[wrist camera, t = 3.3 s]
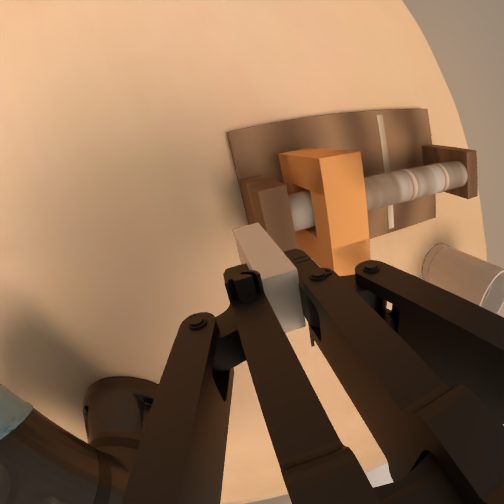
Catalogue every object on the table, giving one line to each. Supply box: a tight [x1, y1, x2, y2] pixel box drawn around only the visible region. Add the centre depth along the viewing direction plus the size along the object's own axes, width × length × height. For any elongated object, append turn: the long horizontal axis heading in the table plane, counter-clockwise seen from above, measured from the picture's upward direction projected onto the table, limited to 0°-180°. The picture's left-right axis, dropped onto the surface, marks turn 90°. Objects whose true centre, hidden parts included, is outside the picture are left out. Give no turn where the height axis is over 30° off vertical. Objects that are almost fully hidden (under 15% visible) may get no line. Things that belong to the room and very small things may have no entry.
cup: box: [422, 243, 504, 314], centre depth 31 cm, size 8×8×12 cm
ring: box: [278, 148, 370, 276], centre depth 22 cm, size 3×8×8 cm, turn 12°
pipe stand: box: [227, 109, 477, 252], centre depth 25 cm, size 24×14×8 cm, turn 102°
